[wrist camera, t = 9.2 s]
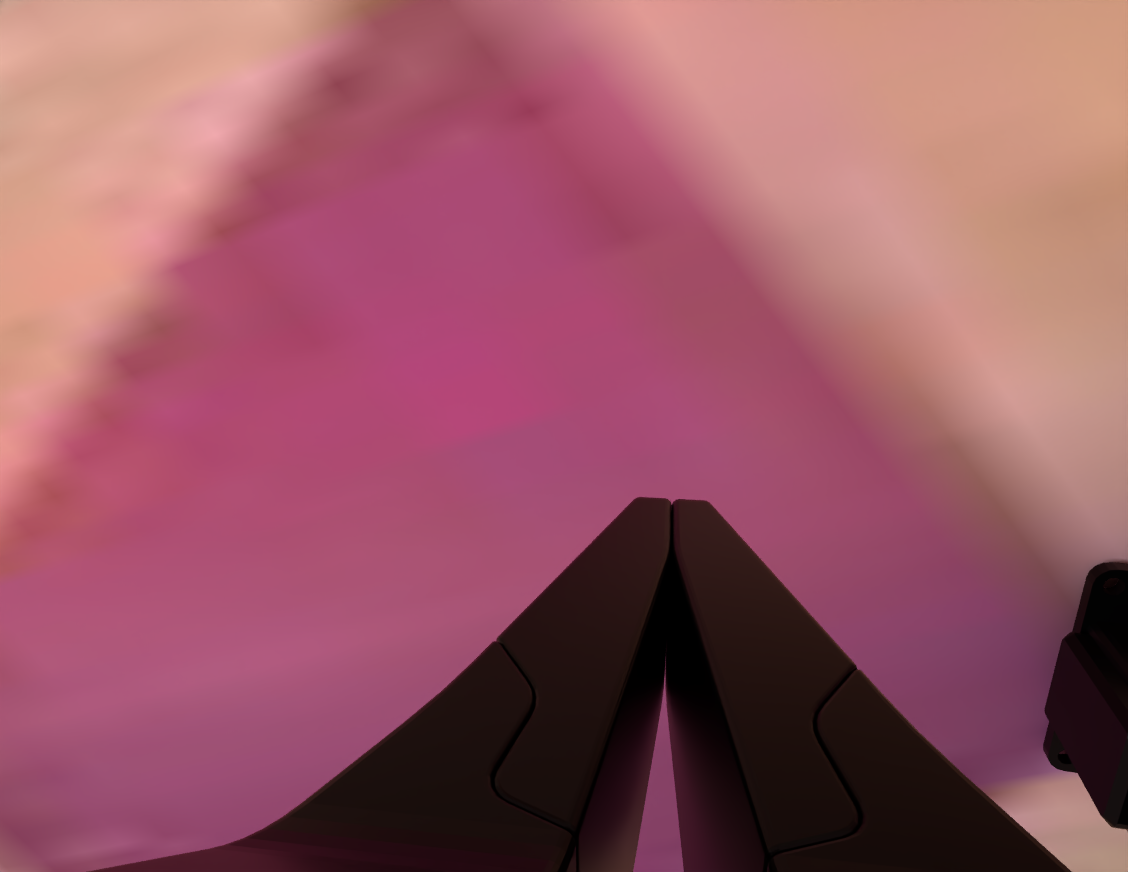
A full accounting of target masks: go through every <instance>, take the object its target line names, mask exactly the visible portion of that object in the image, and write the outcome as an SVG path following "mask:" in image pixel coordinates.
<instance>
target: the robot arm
mask: <svg viewBox="0 0 1128 872" xmlns="http://www.w3.org/2000/svg"><path fill="white" fill-rule="evenodd" d="M1111 578H1118V582H1117V583H1116V585H1114V586H1112V587H1107V588H1104V587H1103V585H1104V583H1105V581H1107V580H1109V579H1111ZM665 659H666V668H665ZM664 676H665V677H666V701H667V713H668V723H669V732H670V742H671V751H672V761H673V771H674V780H675V790H676V799H677V809H678V819H679V828H680V838H681V848H682V857H683V867H684V872H1071V871H1070V870H1069V869H1068V868H1067V867H1066V866H1065V865H1064V864H1063V863H1061V862H1060V861H1059V860H1058V859H1057V858H1056V857H1055V856H1054V855H1053V854H1051V853H1050V852H1049V851H1048V850H1047V849H1046V848H1045V847H1044V846H1043V845H1041V844H1040V843H1039V842H1038V841H1037V840H1036V839H1035V838H1034V837H1033V836H1032V835H1030V834H1029V833H1028V832H1027V831H1026V830H1025V829H1024V828H1023V827H1022V826H1020V825H1019V824H1018V823H1017V822H1016V821H1015V820H1014V819H1013V818H1012V817H1010V816H1009V815H1008V814H1007V813H1006V812H1005V811H1004V810H1003V809H1002V808H1000V807H999V806H998V805H997V804H996V803H995V802H994V801H993V800H992V799H990V798H989V797H988V796H987V795H986V794H985V793H984V792H983V791H982V790H981V789H979V788H978V787H977V786H976V785H975V784H974V783H973V782H972V781H971V780H969V779H968V778H967V777H966V776H965V775H964V774H963V773H962V772H961V771H960V770H959V769H958V768H956V767H955V766H954V765H953V764H952V763H951V762H950V761H949V760H948V759H947V758H946V757H945V756H944V755H943V754H942V753H941V752H940V751H938V750H937V749H936V748H935V747H934V746H933V745H932V744H931V743H930V742H929V741H928V740H927V739H926V738H925V737H924V736H923V735H922V734H920V733H919V732H918V731H917V730H916V729H915V727H914V726H913V725H912V724H911V723H910V722H909V721H908V720H907V719H906V718H905V717H904V716H903V715H902V714H901V713H900V712H899V711H898V710H897V709H896V708H895V707H894V706H893V704H892V703H891V702H890V701H889V700H888V699H887V698H886V697H885V696H884V695H883V694H882V693H881V692H880V691H879V690H878V688H877V687H876V686H875V685H874V684H873V683H872V682H871V681H870V680H869V678H868V677H867V676H866V675H865V674H864V673H863V672H862V671H861V670H858V669H857V667H856V665H855V663H854V662H853V661H852V660H851V659H850V658H849V657H848V656H847V655H846V653H845V652H844V651H843V650H842V649H841V648H840V647H839V646H838V645H837V643H836V642H835V641H834V640H833V639H832V638H831V637H830V636H829V635H828V633H827V632H826V631H825V630H824V629H823V628H822V627H821V626H820V625H819V623H818V622H817V621H816V620H815V619H814V618H813V617H812V616H811V615H810V613H809V612H808V611H807V610H806V609H805V608H804V607H803V606H802V605H801V603H800V602H799V601H798V600H797V599H796V598H795V597H794V596H793V595H792V593H791V592H790V591H789V590H788V589H787V588H786V587H785V586H784V585H783V583H782V582H781V581H780V580H779V579H778V578H777V577H776V576H775V575H774V573H773V572H772V571H771V570H770V569H769V568H768V567H767V566H766V565H765V563H764V562H763V561H762V560H761V559H760V558H759V557H758V556H757V555H756V553H755V552H754V551H753V550H752V549H751V548H750V547H749V546H748V545H747V543H746V542H745V541H744V540H743V539H742V538H741V537H740V536H739V535H738V533H737V532H736V531H735V530H734V529H733V528H732V527H731V526H730V525H729V523H728V522H727V521H726V520H725V519H724V518H723V517H722V516H721V515H720V514H719V512H718V511H717V510H716V509H715V508H714V507H713V506H712V505H711V504H710V503H709V502H708V501H704V500H685V499H678V500H675V501H674V502H673V503H672V505H671V502H670V501H669V500H668V499H665V498H647V497H638V498H636V499H634V500H633V501H632V502H631V503H630V504H629V505H628V506H627V507H626V508H625V509H624V510H623V511H622V512H621V513H620V514H619V515H618V516H617V517H616V518H615V519H614V520H613V521H612V522H611V523H610V524H609V525H608V526H607V527H606V528H605V529H604V530H603V531H602V532H601V533H600V534H599V535H598V536H597V537H596V538H595V539H594V540H593V541H592V542H591V544H590V545H589V546H588V547H587V548H586V549H585V550H584V551H583V552H582V553H581V554H580V555H579V556H578V557H577V558H576V559H575V560H574V561H573V562H572V563H571V564H570V565H569V566H568V567H567V568H566V569H565V570H564V571H563V572H562V573H561V574H560V575H559V576H558V577H557V578H556V579H555V580H554V581H553V582H552V583H551V584H550V585H549V586H548V587H547V588H546V589H545V590H544V591H543V592H542V593H541V594H540V595H539V596H538V597H537V598H536V599H535V600H534V601H533V602H532V603H531V604H530V605H529V606H528V607H527V608H526V609H525V610H524V611H523V612H522V613H521V614H520V615H519V616H518V617H517V618H516V619H515V620H514V621H513V622H512V623H511V624H510V625H509V626H508V627H507V628H506V629H505V630H504V631H503V632H502V633H501V634H500V635H499V636H498V638H497V640H496V641H494V642H492V643H491V644H490V645H489V646H488V647H487V648H486V649H485V650H484V651H483V652H482V653H481V654H480V655H479V656H478V657H477V658H476V659H475V660H474V661H473V662H472V663H471V664H470V665H469V666H468V667H467V668H466V669H465V670H464V671H463V672H461V673H460V674H459V675H458V676H457V677H456V678H455V679H454V680H453V681H452V682H451V683H450V684H449V685H448V686H447V687H446V688H444V689H443V690H442V691H441V692H440V693H439V694H438V695H436V696H435V697H434V698H433V699H432V700H430V701H429V702H428V703H427V704H426V705H424V706H423V707H422V708H421V709H420V710H418V711H417V712H416V713H415V714H414V715H412V716H411V717H410V718H409V719H408V720H406V721H405V722H404V723H403V724H401V725H400V726H399V727H398V728H396V729H395V730H394V731H392V732H391V733H390V734H389V735H387V736H386V737H385V738H384V739H382V740H381V741H380V742H379V743H377V744H376V745H375V746H373V747H372V748H371V749H370V750H368V751H367V752H366V753H365V754H363V755H362V756H361V757H359V758H358V759H357V760H356V761H354V762H353V763H352V764H351V765H349V766H348V767H347V768H346V769H344V770H343V771H342V772H340V773H339V774H338V775H337V776H335V777H334V778H333V779H332V780H330V781H329V782H328V783H326V784H325V785H324V786H323V787H321V788H320V789H319V790H318V791H316V792H315V793H314V794H313V795H311V796H310V797H309V798H307V799H306V800H305V801H304V802H302V803H301V804H300V805H298V806H297V807H295V808H294V809H293V810H291V811H290V812H289V813H287V814H286V815H284V816H283V817H281V818H280V819H278V820H277V821H275V822H273V823H272V824H270V825H268V826H267V827H265V828H263V829H262V830H259V831H257V832H255V833H253V834H251V835H249V836H247V837H245V838H243V839H240V840H237V841H234V842H231V843H228V844H226V845H222V846H218V847H214V848H210V849H205V850H200V851H195V852H189V853H184V854H179V855H173V856H168V857H163V858H157V859H152V860H147V861H141V862H136V863H131V864H125V865H120V866H115V867H109V868H104V869H99V870H93V871H88V872H633V868H634V863H635V857H636V851H637V845H638V839H639V833H640V828H641V822H642V816H643V810H644V804H645V798H646V792H647V787H648V781H649V775H650V769H651V763H652V757H653V751H654V746H655V740H656V734H657V728H658V722H659V716H660V711H661V704H662V697H663V689H664ZM1045 714H1046V716H1047V718H1048V720H1049V724H1048V728H1047V732H1046V736H1045V740H1044V744H1043V750H1044V752H1045V754H1046V756H1047V758H1048V760H1049V762H1050V763H1051V765H1052V766H1054V767H1055V768H1056V769H1059V770H1063V771H1068V772H1075V773H1078V775H1079V776H1080V778H1081V780H1082V782H1083V784H1084V786H1085V787H1086V789H1087V791H1088V793H1089V795H1090V796H1091V798H1092V800H1093V802H1094V804H1095V806H1096V807H1097V809H1098V811H1099V813H1100V815H1101V816H1102V817H1103V818H1104V819H1105V821H1106V822H1107V823H1108V824H1109V825H1110V826H1111V827H1113V828H1120V829H1126V830H1127V831H1128V564H1124V563H1114V562H1109V563H1102V564H1099V565H1097V566H1095V567H1094V568H1092V569H1091V570H1090V571H1089V573H1088V575H1087V577H1086V581H1085V585H1084V588H1083V592H1082V596H1081V600H1080V604H1079V608H1078V612H1077V616H1076V620H1075V623H1074V627H1073V631H1072V632H1071V633H1069V634H1068V635H1067V636H1066V637H1065V638H1063V639H1062V642H1061V646H1060V650H1059V654H1058V658H1057V662H1056V666H1055V670H1054V674H1053V678H1052V682H1051V686H1050V690H1049V694H1048V698H1047V702H1046V706H1045ZM1063 750H1065V751H1066V753H1067V754H1059V753H1060V752H1061V751H1063Z"/></svg>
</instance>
